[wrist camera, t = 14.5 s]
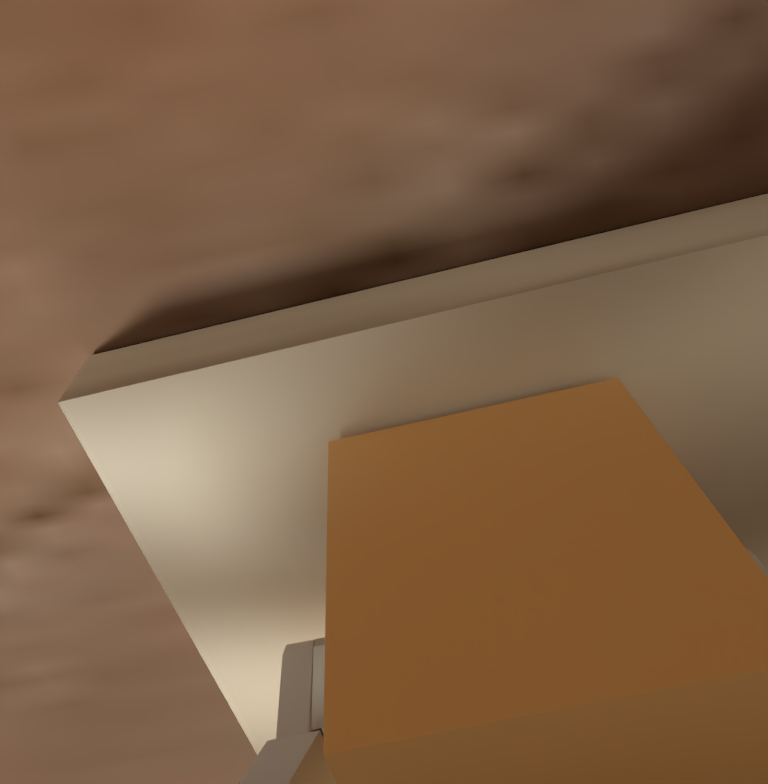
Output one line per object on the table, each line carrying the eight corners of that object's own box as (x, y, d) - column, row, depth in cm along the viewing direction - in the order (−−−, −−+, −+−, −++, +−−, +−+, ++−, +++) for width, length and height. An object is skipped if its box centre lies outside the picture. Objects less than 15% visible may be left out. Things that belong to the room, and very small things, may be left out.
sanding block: (328, 441, 10) (323, 754, 6) (618, 378, 10) (827, 658, 6) (424, 740, 14) (463, 1056, 10) (633, 699, 14) (764, 1006, 10)
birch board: (89, 355, 11) (57, 402, 10) (817, 182, 10) (885, 207, 9) (383, 925, 22) (386, 982, 21) (746, 859, 22) (772, 914, 20)
